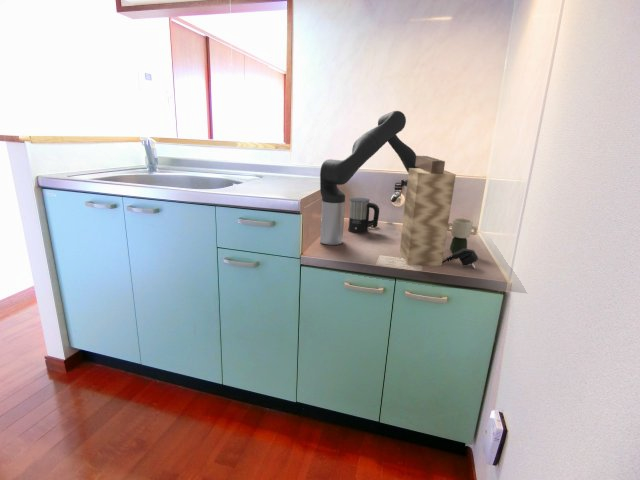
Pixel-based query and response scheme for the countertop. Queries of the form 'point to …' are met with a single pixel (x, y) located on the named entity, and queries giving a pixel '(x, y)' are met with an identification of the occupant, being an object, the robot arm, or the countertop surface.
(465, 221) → the character mug
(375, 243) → the countertop surface
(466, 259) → the power plug
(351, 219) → the milk frother
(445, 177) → the stand
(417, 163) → the rod
